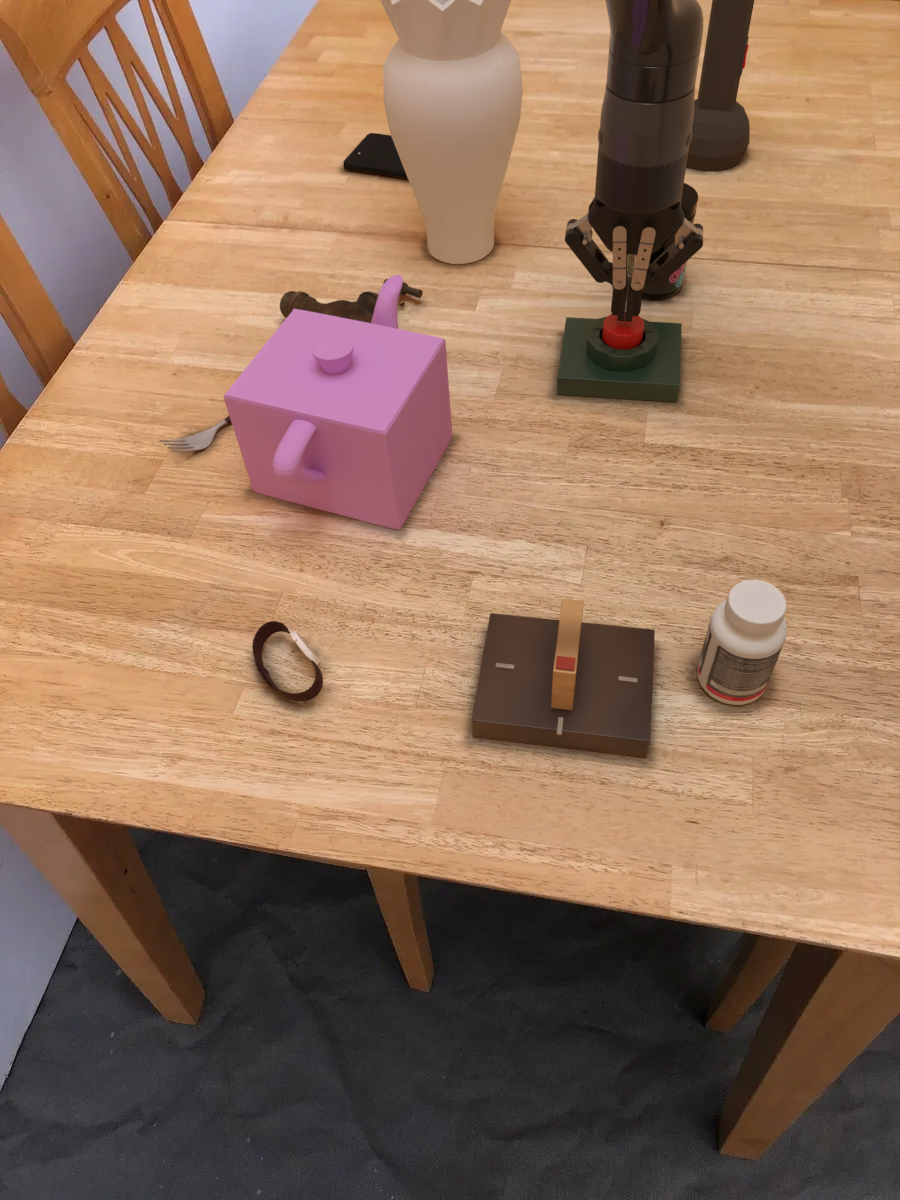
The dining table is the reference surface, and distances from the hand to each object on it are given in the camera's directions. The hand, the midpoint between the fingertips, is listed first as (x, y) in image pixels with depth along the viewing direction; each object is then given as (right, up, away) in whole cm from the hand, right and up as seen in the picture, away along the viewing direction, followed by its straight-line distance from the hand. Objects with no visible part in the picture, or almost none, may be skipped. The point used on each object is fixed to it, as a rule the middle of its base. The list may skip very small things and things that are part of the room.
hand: (624, 316), depth 91 cm
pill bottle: (+5, -34, -19) cm, 39 cm away
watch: (-30, -34, -16) cm, 48 cm away
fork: (-39, -10, +3) cm, 40 cm away
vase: (-16, +15, +20) cm, 30 cm away
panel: (-8, -35, -19) cm, 41 cm away
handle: (-8, -33, -21) cm, 40 cm away
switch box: (0, -4, +5) cm, 6 cm away
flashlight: (+17, +31, +30) cm, 46 cm away
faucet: (-27, +2, +11) cm, 29 cm away
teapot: (-26, -14, -1) cm, 30 cm away
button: (0, -2, +2) cm, 3 cm away
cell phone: (-22, +30, +33) cm, 50 cm away
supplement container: (+6, +8, +13) cm, 16 cm away
